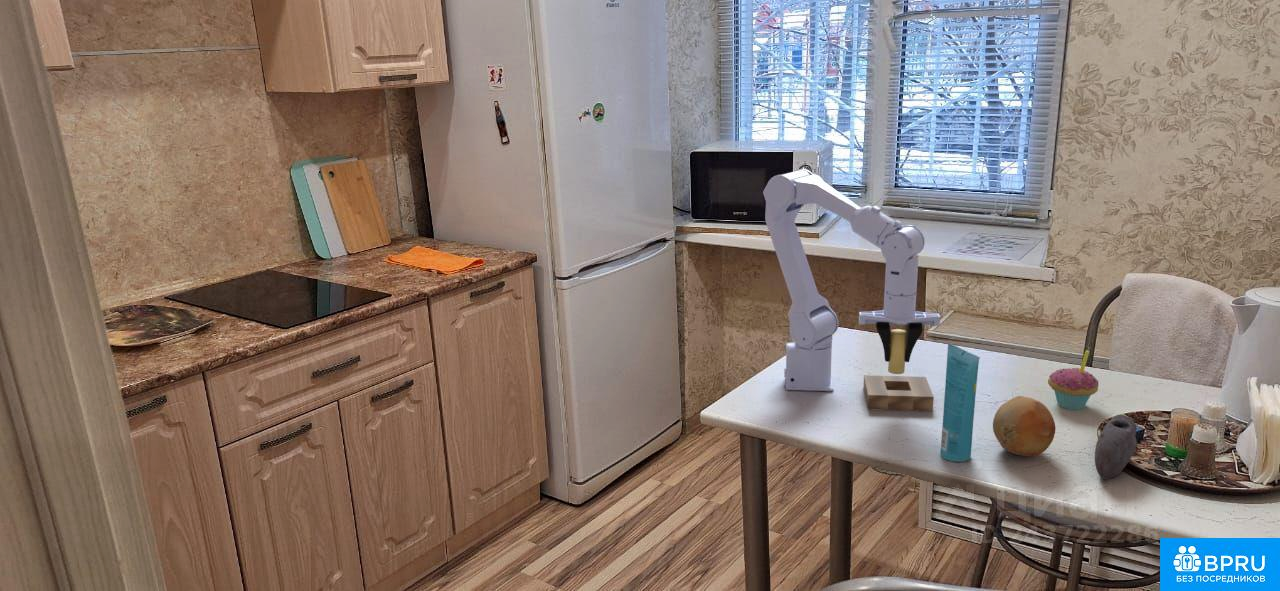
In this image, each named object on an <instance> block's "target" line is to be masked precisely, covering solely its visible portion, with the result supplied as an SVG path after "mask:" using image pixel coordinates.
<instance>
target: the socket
mask: <svg viewBox="0 0 1280 591" xmlns="http://www.w3.org/2000/svg"><path fill="white" fill-rule="evenodd" d="M862 389H863V394H864V398H865V403H867V404H866V408H867V410H870V409H882V410H881V411H903V410H915V411H914V412H933V411H934V401H935V400H934V398H935V397H934V395H933V391H932V389H931V387H930V384H929V382H928V379H927V377H926V376H910V375H909V376H906V375H905V376H904V375H869V374H868V375H865V374H864V375H863V388H862ZM916 410H917V411H916ZM918 410H919V411H918Z"/></svg>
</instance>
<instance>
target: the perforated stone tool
mask: <svg viewBox="0 0 1280 591" xmlns="http://www.w3.org/2000/svg"><path fill="white" fill-rule="evenodd" d="M1137 430H1138V429H1137V424H1136V422H1135V419H1133V418H1132V417H1130V416H1127V415H1124V414H1116V415H1115V416H1113V418H1112V417H1111V418H1110V419H1109V421H1108V422H1107V423H1106V425H1105V426H1104V427H1103V428H1102V431H1101V432H1100V434H1099V436H1098V439H1097V441H1096V444H1095V451H1094V466H1095V470H1096V472H1097V473H1098V475H1099V477H1100V478H1101V479H1104V480H1106V479H1111V478H1114V477H1116V476H1117V475H1119V474H1120V473H1121V472H1122V471H1123V469H1125V468H1126V467H1127V465H1128V463H1129V462H1130V460H1131V458H1132V456H1133V454H1134V452H1135V450H1136V448H1137V447H1138V446H1137V445H1138V440H1137V437H1136V435H1137Z"/></svg>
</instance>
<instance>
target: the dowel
mask: <svg viewBox="0 0 1280 591" xmlns="http://www.w3.org/2000/svg"><path fill="white" fill-rule="evenodd" d="M890 331H891V334H890V344H889V352H890V359H889V362H888V364H887V366H888V367H887V372H888V373H890V374H892V375H902V374H904V373H905V367H906V362H905V353H906V337H907V332H906V329H905V330H904V329H902V328H901V329H900V328H896V329H890Z"/></svg>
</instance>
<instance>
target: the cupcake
mask: <svg viewBox="0 0 1280 591" xmlns="http://www.w3.org/2000/svg"><path fill="white" fill-rule="evenodd" d="M1090 349H1091V347H1090V346H1088V349H1087V350H1085V352H1084V355H1083V359H1082V362H1081V365H1080V368H1079V367H1072V368H1070V367H1069V368H1060V369H1058V370H1055V371H1054V372H1052V373H1051V374H1050V375H1049V377H1048V379H1047V384H1048V385H1049V386H1050V388H1051V389H1052V390H1053V391H1054V394H1055V400H1056V404H1057V405H1058V406H1059V407H1061V408H1064V409H1067V410H1073V411H1074V410H1077V411H1079V410H1081V409H1082V410H1083V409H1084V408H1085V407H1086V405H1087V403H1088V402H1089V399H1090V398H1091V396H1092V395H1094V394H1096V393H1097V392H1098V389H1099V380H1097V378H1096V377H1095V376H1094V375H1093V374H1091V373H1090V372H1089V371H1086V370H1085V367H1086V364H1087V361H1088V357H1089V355H1090Z"/></svg>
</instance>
